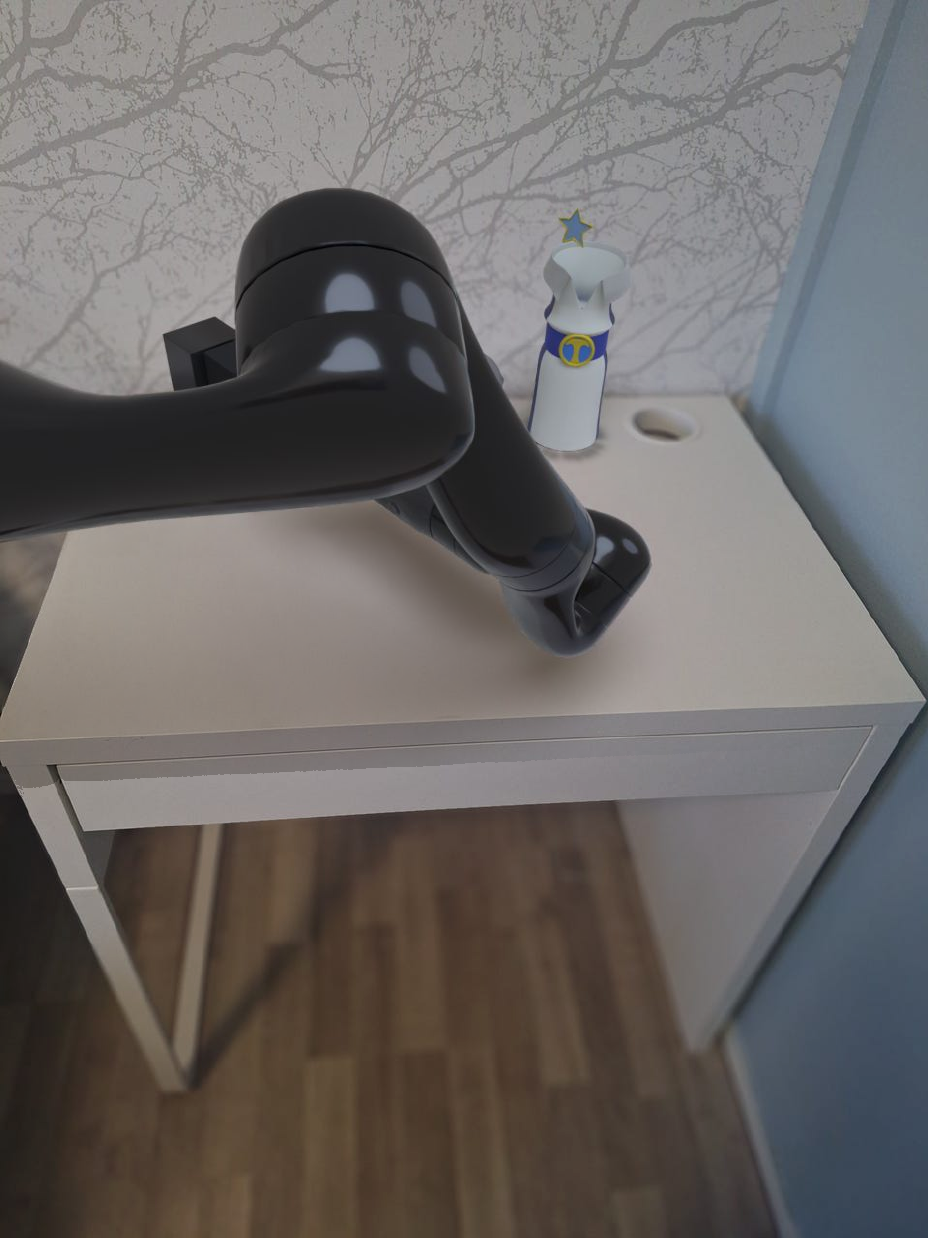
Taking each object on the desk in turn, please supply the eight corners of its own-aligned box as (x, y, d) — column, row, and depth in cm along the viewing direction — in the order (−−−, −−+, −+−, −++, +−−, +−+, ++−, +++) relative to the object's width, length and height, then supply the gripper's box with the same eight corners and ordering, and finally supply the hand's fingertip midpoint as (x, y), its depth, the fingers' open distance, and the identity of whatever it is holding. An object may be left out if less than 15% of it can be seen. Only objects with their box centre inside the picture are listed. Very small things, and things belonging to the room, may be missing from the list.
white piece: (604, 457, 97) (649, 216, 79) (523, 449, 97) (551, 208, 80) (603, 414, 103) (645, 182, 85) (527, 407, 103) (553, 174, 86)
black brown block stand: (247, 483, 91) (233, 389, 83) (176, 427, 97) (157, 335, 90) (304, 457, 94) (296, 365, 87) (232, 404, 101) (219, 314, 93)
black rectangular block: (244, 453, 92) (232, 372, 86) (216, 431, 94) (202, 351, 88) (277, 439, 94) (268, 359, 88) (248, 418, 96) (238, 339, 90)
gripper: (490, 405, 74) (361, 328, 82) (351, 472, 67) (224, 381, 74) (483, 481, 79) (363, 402, 87) (355, 551, 72) (236, 458, 80)
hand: (299, 392), depth 81 cm, fingers open, 8 cm apart
